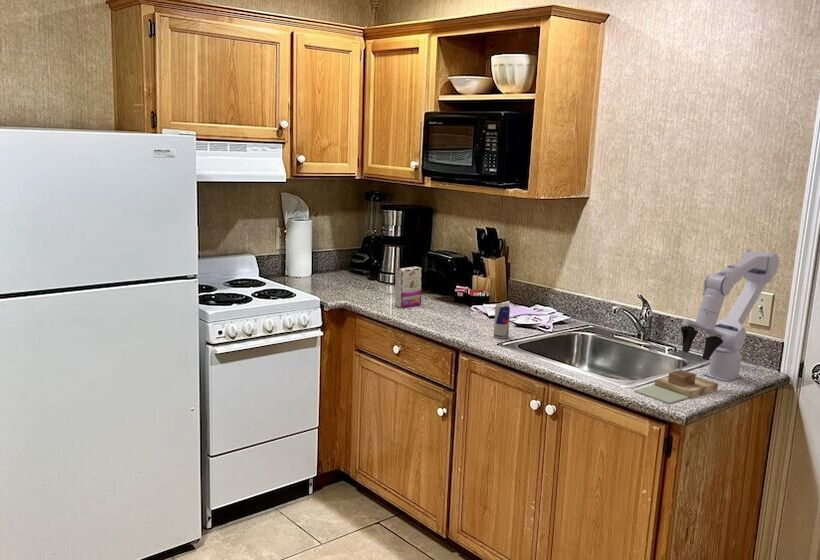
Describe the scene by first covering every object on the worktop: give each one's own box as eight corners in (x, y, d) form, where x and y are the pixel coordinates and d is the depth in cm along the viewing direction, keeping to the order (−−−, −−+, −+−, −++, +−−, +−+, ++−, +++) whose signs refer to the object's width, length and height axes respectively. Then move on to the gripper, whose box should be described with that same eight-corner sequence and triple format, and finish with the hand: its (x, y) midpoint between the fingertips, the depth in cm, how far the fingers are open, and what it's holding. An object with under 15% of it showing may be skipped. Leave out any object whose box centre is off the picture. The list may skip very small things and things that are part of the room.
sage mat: (653, 386, 225) (653, 385, 225) (688, 398, 215) (688, 397, 215) (634, 391, 219) (634, 390, 219) (669, 404, 210) (669, 402, 210)
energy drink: (506, 339, 271) (508, 307, 269) (491, 337, 273) (493, 305, 271) (509, 336, 276) (511, 304, 274) (495, 334, 278) (497, 303, 276)
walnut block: (680, 379, 226) (681, 369, 225) (694, 383, 222) (695, 374, 221) (667, 382, 223) (668, 372, 222) (682, 387, 219) (683, 377, 218)
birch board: (682, 378, 233) (683, 372, 233) (717, 389, 223) (717, 383, 223) (654, 386, 225) (654, 379, 224) (689, 398, 215) (690, 391, 215)
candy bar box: (413, 303, 326) (415, 266, 323) (421, 305, 322) (422, 267, 319) (393, 306, 319) (394, 268, 316) (401, 308, 315) (402, 270, 312)
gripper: (698, 306, 219) (684, 350, 218) (736, 321, 223) (723, 364, 222) (683, 304, 226) (669, 347, 225) (720, 319, 230) (707, 361, 229)
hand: (695, 355), depth 224 cm, fingers open, 7 cm apart
